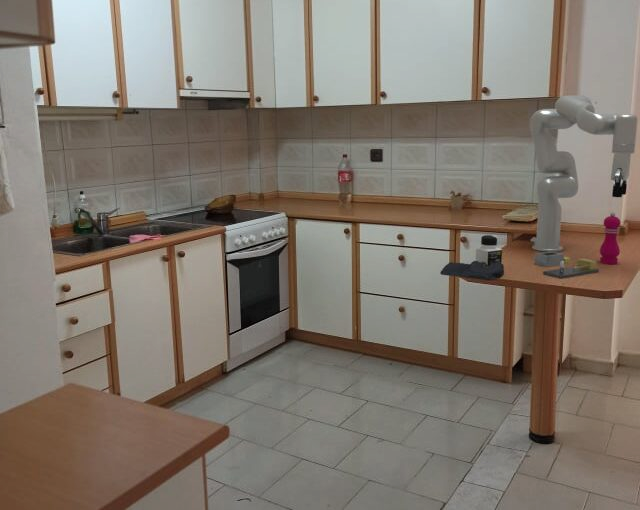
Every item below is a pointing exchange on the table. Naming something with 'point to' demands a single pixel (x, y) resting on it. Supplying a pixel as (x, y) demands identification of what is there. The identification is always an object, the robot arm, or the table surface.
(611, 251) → the pepper mill
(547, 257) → the link
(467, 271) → the dark grey cloth
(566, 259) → the block
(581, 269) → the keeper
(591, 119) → the robot arm
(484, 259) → the medicine bottle
